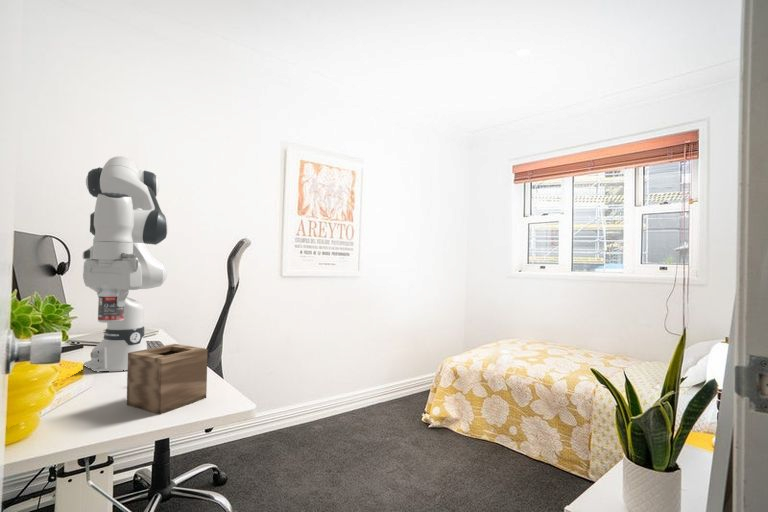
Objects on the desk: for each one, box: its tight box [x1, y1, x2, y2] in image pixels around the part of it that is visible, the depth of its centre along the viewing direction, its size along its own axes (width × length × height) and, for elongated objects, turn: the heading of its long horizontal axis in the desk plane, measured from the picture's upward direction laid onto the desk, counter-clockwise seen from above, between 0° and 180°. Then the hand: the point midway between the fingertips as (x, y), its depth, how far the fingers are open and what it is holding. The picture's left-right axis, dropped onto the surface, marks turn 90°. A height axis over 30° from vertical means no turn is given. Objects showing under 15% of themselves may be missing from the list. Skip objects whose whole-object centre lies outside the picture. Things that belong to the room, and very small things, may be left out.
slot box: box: [126, 343, 209, 415], centre depth 112 cm, size 14×14×14 cm
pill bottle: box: [97, 284, 124, 324], centre depth 106 cm, size 6×6×10 cm
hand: (111, 305), depth 106 cm, fingers closed on pill bottle, 6 cm apart
